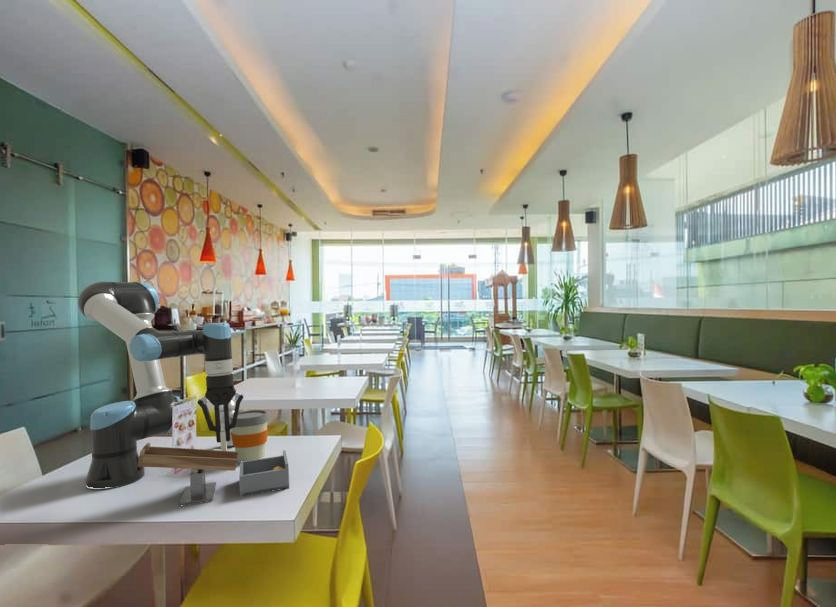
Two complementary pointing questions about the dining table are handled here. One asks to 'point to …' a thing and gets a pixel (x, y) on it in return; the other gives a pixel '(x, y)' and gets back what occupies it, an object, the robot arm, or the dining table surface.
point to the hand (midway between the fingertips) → (224, 452)
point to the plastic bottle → (231, 412)
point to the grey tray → (263, 475)
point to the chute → (187, 458)
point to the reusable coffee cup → (250, 434)
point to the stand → (198, 489)
